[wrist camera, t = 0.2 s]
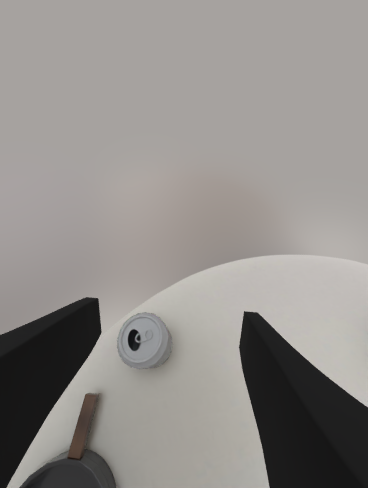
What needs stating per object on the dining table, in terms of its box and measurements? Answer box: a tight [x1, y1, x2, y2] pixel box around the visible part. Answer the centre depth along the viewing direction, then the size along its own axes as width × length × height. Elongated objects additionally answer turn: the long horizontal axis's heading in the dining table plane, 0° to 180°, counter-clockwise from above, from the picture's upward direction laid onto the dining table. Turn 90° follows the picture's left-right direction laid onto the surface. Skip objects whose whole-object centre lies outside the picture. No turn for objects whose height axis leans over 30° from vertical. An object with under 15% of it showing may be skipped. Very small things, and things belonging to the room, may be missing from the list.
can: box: [117, 312, 172, 369], centre depth 32 cm, size 8×8×12 cm
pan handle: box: [68, 393, 99, 459], centre depth 29 cm, size 7×2×1 cm, turn 175°
